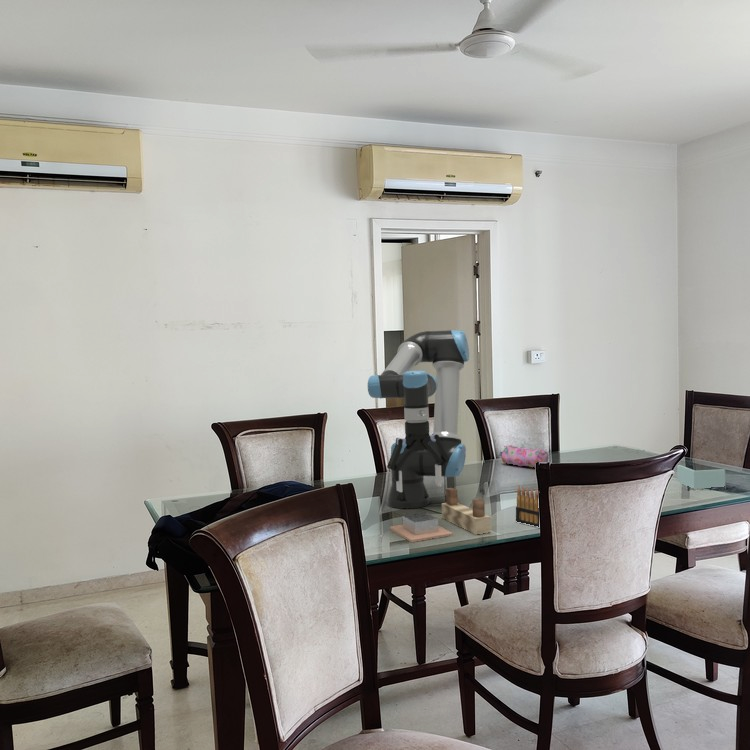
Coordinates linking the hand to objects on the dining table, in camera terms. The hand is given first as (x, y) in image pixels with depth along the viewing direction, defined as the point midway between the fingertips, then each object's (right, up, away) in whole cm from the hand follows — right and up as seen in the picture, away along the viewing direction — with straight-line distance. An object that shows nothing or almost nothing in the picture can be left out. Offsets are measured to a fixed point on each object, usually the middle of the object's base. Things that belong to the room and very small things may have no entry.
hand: (419, 488), depth 214 cm
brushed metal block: (0, -13, 0) cm, 13 cm away
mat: (0, -14, +1) cm, 14 cm away
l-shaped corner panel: (+109, -7, +46) cm, 119 cm away
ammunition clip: (+36, -13, +4) cm, 38 cm away
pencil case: (+53, -6, +96) cm, 110 cm away
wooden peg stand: (+15, -13, +7) cm, 21 cm away
